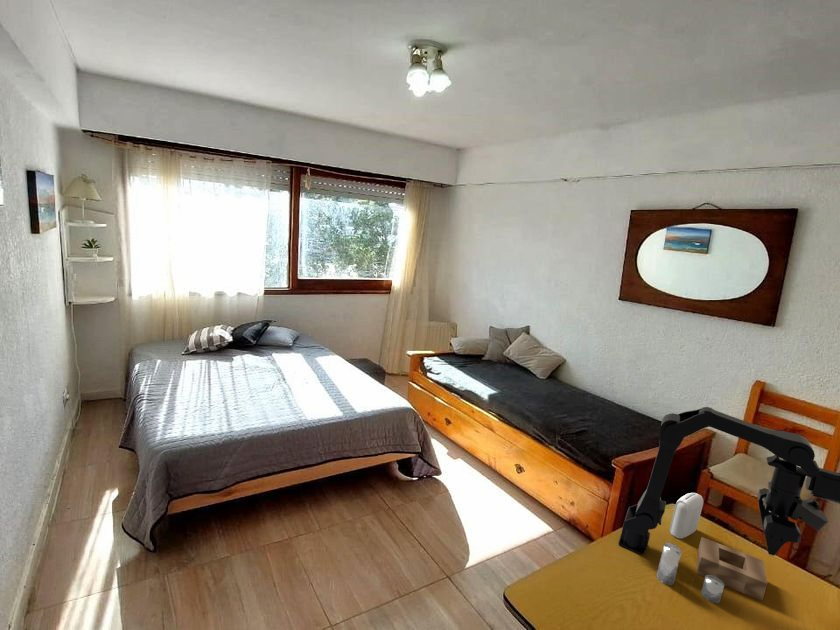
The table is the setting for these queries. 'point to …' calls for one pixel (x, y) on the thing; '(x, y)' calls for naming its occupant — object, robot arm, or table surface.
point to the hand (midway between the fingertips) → (768, 544)
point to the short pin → (712, 588)
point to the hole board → (732, 568)
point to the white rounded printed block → (686, 515)
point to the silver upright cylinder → (668, 563)
